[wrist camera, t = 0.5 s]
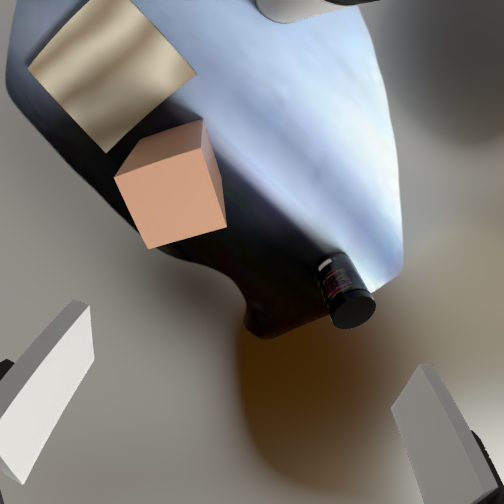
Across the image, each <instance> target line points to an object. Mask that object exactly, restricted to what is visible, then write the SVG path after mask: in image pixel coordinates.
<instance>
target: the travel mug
mask: <svg viewBox="0 0 504 504" xmlns="http://www.w3.org/2000/svg"><path fill="white" fill-rule="evenodd" d="M373 1H379V0H255V2H256V6H257V8H258V10H259V11H260V12H261V14H262V15H263V16H265V17H266V18H267V19H269V20H271V21H274V22H277V23H284V24H287V23H293V22H296V21H299V20H303V19H306V18H309V17H313V16H316V15H320V14H323V13H327V12H331V11H335V10H339V9H343V8H348V7H352V6H357V5H361V4H363V3H368V2H373Z"/></svg>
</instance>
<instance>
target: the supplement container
mask: <svg viewBox="0 0 504 504" xmlns="http://www.w3.org/2000/svg"><path fill="white" fill-rule="evenodd" d="M314 277H315V280H316V282H317V284H318V287H319V289H320V292H321V294H322V297H323V299H324V301H325V304H326V306H327V309H328V311H329V315H330V317H331V319H332V322H333V324H334V325H335V326H336V327H337V328H340V329H350V328H354V327H356V326H359V325H361V324H363V323H364V322H366V321H367V320H368V319H369V318H370V317H371V316H372V314H373V313H374V311H375V308H376V304H375V301H374V299H373V297H372V295H371V293H370V292H369V291H368V289H367V287H366V285H365V283H364V282H363V280H362V278H361V276H360V274H359V273H358V271H357V269H356V267H355V266H354V264H353V262H352V261H351V259H350V258H349V257H348V256H347V255H345V254H342V253H332V254H329V255H326V256H325V257H323V258H322V259H321V260H320V261H319V262H318V263H317V265H316V267H315V270H314Z"/></svg>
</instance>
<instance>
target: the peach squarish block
mask: <svg viewBox="0 0 504 504" xmlns="http://www.w3.org/2000/svg"><path fill="white" fill-rule="evenodd" d="M114 179H115V181H116V183H117V185H118V188H119V190H120V192H121V194H122V196H123V199H124V201H125V203H126V205H127V207H128V209H129V211H130V213H131V215H132V218H133V220H134V222H135V224H136V226H137V228H138V230H139V232H140V234H141V236H142V238H143V240H144V242H145V244H146V246H147V247H148V249H151V248H154V247H157V246H161V245H164V244H168V243H171V242H175V241H178V240H182V239H185V238H189V237H192V236H196V235H199V234H203V233H207V232H210V231H214V230H217V229H221V228H225V227H227V225H226V216H225V208H224V199H223V189H222V180H221V175H220V172H219V168H218V165H217V162H216V159H215V155H214V152H213V149H212V146H211V142H210V139H209V136H208V132H207V129H206V126H205V123H204V119H200V120H196V121H193V122H190V123H187V124H183V125H180V126H177V127H174V128H171V129H168V130H165V131H162V132H159V133H157V134H154V135H151V136H148V137H145V138H143V139H140V140H139V142H138V143H137V144H136V146H135V147H134V149H133V150H132V152H131V153H130V154H129V156H128V157H127V159H126V160H125V162H124V163H123V165H122V166H121V168H120V169H119V171H118V172H117V174H116V175H115V177H114Z"/></svg>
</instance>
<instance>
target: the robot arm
mask: <svg viewBox="0 0 504 504" xmlns="http://www.w3.org/2000/svg"><path fill="white" fill-rule="evenodd" d="M93 361H94V352H93V342H92V332H91V319H90V305H88V304H85V303H81V302H78V301H75V300H72V301H71V302H70V303H69V304H68V305H67V306H66V307H65V308H64V309H63V310H62V311H61V312H60V314H59V315H58V316H57V317H56V318H55V319H54V320H53V321H52V322H51V323H50V324H49V325H48V326H47V328H46V329H45V330H44V331H43V332H42V333H41V334H40V335H39V336H38V337H37V338H36V340H35V341H34V342H33V343H32V344H31V345H30V346H29V347H28V349H27V350H26V351H25V352H24V353H23V354H22V355H21V357H20V358H19V359H18V360H17V362H16V363H14V362H12V361H10V360H8V359H6V360H4V361H2V362H0V469H1V470H2V471H3V473H4V474H6V475H7V476H9V477H10V478H12V479H14V480H15V481H17V482H19V483H20V484H22V485H24V483H25V481H26V479H27V477H28V475H29V473H30V471H31V469H32V467H33V465H34V463H35V461H36V459H37V457H38V455H39V454H40V451H41V450H42V448H43V446H44V444H45V442H46V440H47V438H48V437H49V435H50V433H51V431H52V429H53V428H54V426H55V424H56V423H57V421H58V419H59V417H60V416H61V414H62V412H63V410H64V409H65V407H66V405H67V403H68V402H69V400H70V398H71V397H72V395H73V394H74V392H75V390H76V388H77V387H78V385H79V384H80V382H81V380H82V379H83V377H84V375H85V374H86V372H87V371H88V369H89V368H90V366H91V364H92V363H93ZM391 411H392V414H393V416H394V419H395V421H396V424H397V427H398V429H399V432H400V435H401V437H402V440H403V443H404V445H405V448H406V451H407V454H408V457H409V459H410V462H411V465H412V468H413V471H414V474H415V477H416V479H417V482H418V486H419V489H420V492H421V495H422V498H423V501H424V504H504V485H503V483H502V481H501V479H500V477H499V475H498V474H497V471H496V469H495V467H494V465H493V463H492V461H491V459H490V458H489V455H488V453H487V451H486V450H485V447H484V445H483V444H482V442H481V439H480V438H479V437H478V436H477V435H476V434H475V433H474V432H473V431H472V430H470V429H469V427H468V425H467V423H466V421H465V419H464V418H463V416H462V414H461V412H460V410H459V409H458V407H457V405H456V403H455V402H454V400H453V398H452V396H451V395H450V393H449V391H448V390H447V388H446V386H445V385H444V383H443V381H442V380H441V378H440V376H439V375H438V373H437V371H436V370H435V368H434V367H433V365H425V364H419V365H418V367H417V369H416V370H415V372H414V374H413V375H412V377H411V379H410V380H409V382H408V383H407V385H406V386H405V388H404V390H403V391H402V393H401V394H400V395H399V397H398V399H397V400H396V401H395V403H394V405H393V406H392V407H391ZM0 504H4V502H3V498H2V495H1V491H0Z"/></svg>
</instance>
